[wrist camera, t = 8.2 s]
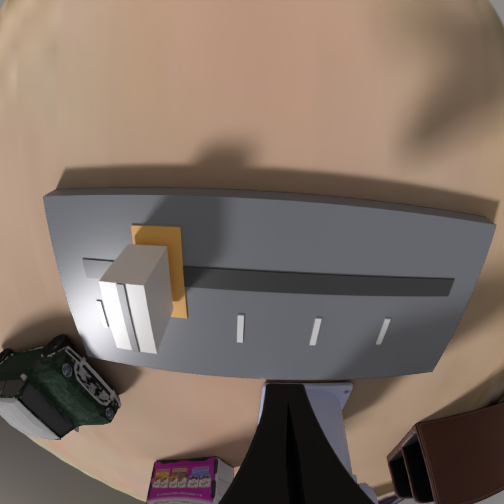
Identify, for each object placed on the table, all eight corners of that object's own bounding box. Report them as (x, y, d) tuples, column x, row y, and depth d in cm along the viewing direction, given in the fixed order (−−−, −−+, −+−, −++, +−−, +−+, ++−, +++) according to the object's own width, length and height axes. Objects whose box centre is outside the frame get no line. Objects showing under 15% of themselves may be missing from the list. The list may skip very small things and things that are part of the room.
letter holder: (415, 421, 29) (442, 517, 17) (511, 396, 29) (543, 464, 17) (385, 456, 34) (400, 537, 21) (479, 432, 34) (502, 495, 21)
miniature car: (133, 392, 27) (111, 458, 20) (40, 397, 30) (18, 441, 23) (79, 328, 23) (38, 395, 16) (-2, 349, 27) (-32, 392, 20)
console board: (426, 360, 24) (432, 372, 22) (94, 344, 24) (87, 357, 22) (484, 216, 17) (497, 225, 16) (55, 189, 17) (41, 197, 16)
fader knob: (173, 309, 19) (156, 355, 15) (138, 305, 19) (116, 348, 15) (167, 246, 17) (143, 287, 13) (128, 243, 17) (97, 282, 13)
